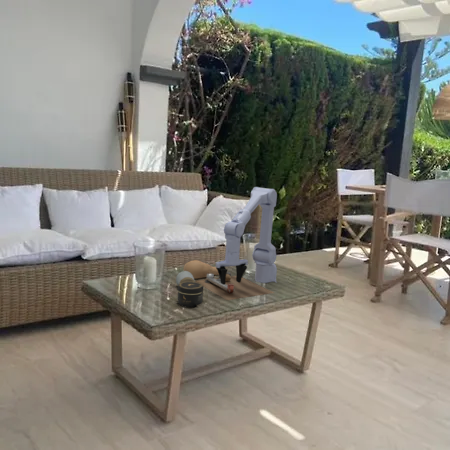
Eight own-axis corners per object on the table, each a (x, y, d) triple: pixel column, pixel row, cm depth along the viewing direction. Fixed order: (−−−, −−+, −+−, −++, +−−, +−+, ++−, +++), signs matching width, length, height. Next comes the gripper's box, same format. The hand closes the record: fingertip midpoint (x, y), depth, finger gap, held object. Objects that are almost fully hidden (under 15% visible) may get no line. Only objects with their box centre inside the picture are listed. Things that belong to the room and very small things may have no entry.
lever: (205, 280, 219) (205, 273, 218) (214, 278, 221) (214, 272, 221) (228, 293, 202) (229, 286, 202) (238, 291, 205) (238, 284, 204)
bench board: (238, 277, 231) (238, 269, 231) (274, 295, 208) (275, 286, 207) (193, 283, 219) (193, 274, 218) (226, 302, 195) (227, 293, 195)
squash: (178, 278, 226) (179, 258, 227) (214, 278, 238) (215, 260, 238) (190, 280, 217) (191, 260, 218) (227, 280, 229) (228, 261, 229)
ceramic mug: (178, 294, 203) (179, 276, 202) (175, 287, 211) (176, 270, 209) (203, 293, 206) (204, 275, 204) (199, 287, 214) (200, 270, 212)
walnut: (228, 279, 223) (228, 272, 223) (231, 281, 221) (232, 274, 220) (222, 280, 222) (222, 273, 221) (225, 282, 219) (226, 275, 218)
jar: (172, 305, 189) (173, 286, 188) (183, 297, 199) (184, 279, 197) (196, 309, 186) (197, 290, 185) (206, 301, 195) (207, 283, 194)
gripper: (241, 247, 208) (240, 278, 211) (212, 250, 201) (210, 282, 203) (251, 251, 202) (249, 282, 205) (221, 253, 195) (219, 286, 197)
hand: (230, 282), depth 203 cm, fingers open, 7 cm apart
